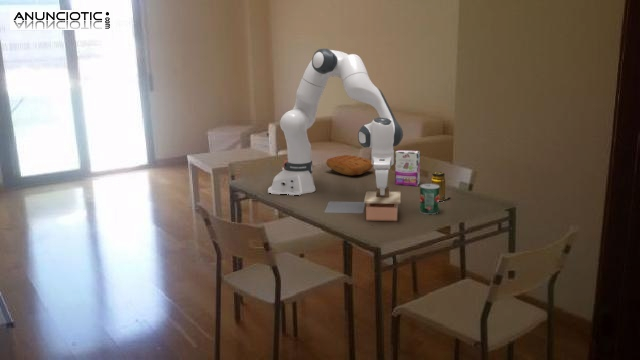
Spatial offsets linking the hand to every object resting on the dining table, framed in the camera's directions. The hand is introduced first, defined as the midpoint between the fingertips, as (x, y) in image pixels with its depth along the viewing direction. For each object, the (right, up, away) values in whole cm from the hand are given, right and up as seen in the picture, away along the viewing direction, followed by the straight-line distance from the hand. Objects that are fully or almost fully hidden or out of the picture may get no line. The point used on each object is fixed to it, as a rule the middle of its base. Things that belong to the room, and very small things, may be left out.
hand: (382, 193), depth 240 cm
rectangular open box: (0, -10, +2) cm, 10 cm away
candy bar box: (+17, +3, +51) cm, 54 cm away
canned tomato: (+20, -8, +8) cm, 23 cm away
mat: (-14, -7, +15) cm, 22 cm away
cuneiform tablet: (-9, +9, +76) cm, 77 cm away
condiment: (+28, -3, +26) cm, 38 cm away
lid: (0, -2, 0) cm, 2 cm away
